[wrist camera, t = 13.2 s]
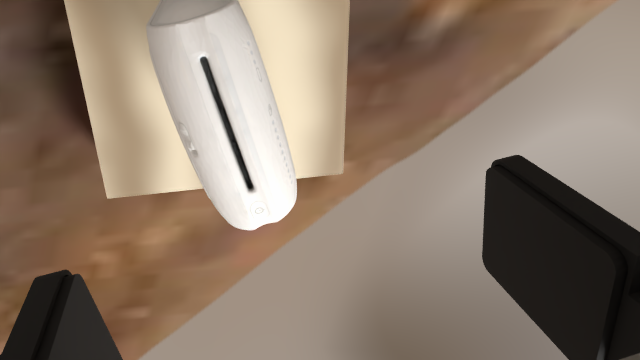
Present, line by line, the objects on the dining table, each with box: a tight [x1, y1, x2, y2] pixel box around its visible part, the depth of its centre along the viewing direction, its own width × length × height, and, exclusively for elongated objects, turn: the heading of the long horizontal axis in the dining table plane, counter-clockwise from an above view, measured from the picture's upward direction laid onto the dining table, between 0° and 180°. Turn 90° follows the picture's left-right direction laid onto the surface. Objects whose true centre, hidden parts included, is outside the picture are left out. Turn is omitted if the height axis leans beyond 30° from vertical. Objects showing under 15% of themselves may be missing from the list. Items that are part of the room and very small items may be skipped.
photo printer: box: [146, 0, 297, 230], centre depth 23 cm, size 10×4×12 cm, turn 14°
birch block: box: [64, 0, 350, 199], centre depth 31 cm, size 16×16×6 cm
